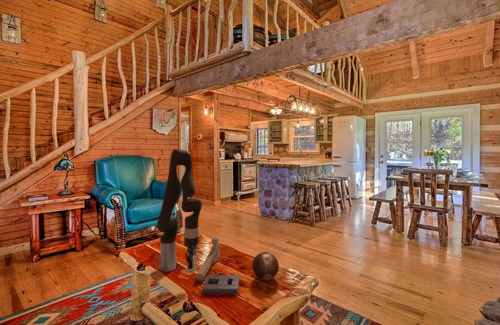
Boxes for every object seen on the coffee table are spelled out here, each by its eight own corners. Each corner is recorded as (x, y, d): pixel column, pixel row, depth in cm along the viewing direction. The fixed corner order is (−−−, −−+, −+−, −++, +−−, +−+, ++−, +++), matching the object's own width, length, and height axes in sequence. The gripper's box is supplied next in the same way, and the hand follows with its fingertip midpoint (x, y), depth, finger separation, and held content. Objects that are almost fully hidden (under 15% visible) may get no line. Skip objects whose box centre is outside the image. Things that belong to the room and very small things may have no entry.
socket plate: (202, 294, 129) (202, 288, 128) (207, 280, 143) (207, 274, 142) (237, 294, 128) (237, 288, 128) (239, 280, 142) (239, 275, 142)
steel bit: (186, 272, 134) (186, 257, 134) (188, 268, 138) (188, 254, 138) (194, 272, 134) (194, 257, 134) (196, 268, 138) (196, 254, 138)
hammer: (202, 266, 139) (219, 236, 167) (194, 265, 140) (212, 236, 168) (205, 290, 143) (220, 256, 171) (197, 289, 144) (214, 256, 172)
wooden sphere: (259, 288, 134) (259, 260, 134) (248, 275, 148) (248, 250, 147) (283, 282, 140) (283, 255, 140) (270, 270, 154) (270, 246, 153)
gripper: (188, 231, 142) (188, 260, 143) (180, 240, 128) (180, 272, 129) (201, 231, 142) (201, 261, 143) (195, 240, 128) (195, 273, 129)
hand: (191, 266), depth 136 cm, fingers closed on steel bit, 4 cm apart
